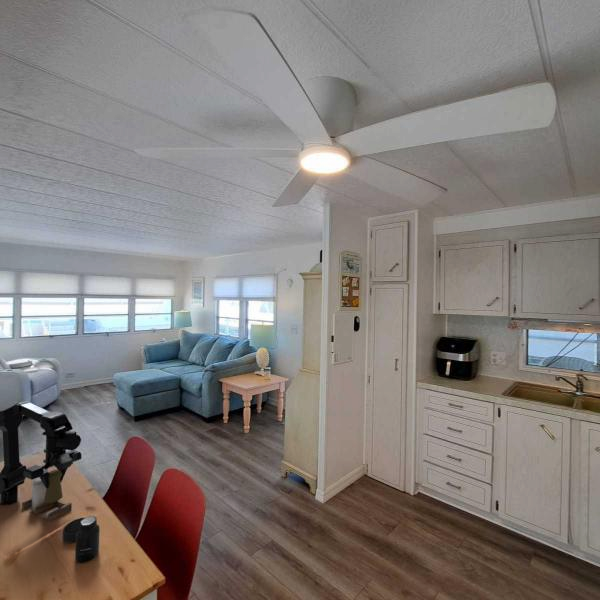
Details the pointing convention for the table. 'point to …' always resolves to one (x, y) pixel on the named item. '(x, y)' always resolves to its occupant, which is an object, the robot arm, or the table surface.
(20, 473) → the robot arm
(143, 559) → the table surface
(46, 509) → the walnut slot rack
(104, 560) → the table surface
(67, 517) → the table surface
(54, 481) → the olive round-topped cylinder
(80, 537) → the supplement bottle
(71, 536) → the black round bowl
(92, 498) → the table surface
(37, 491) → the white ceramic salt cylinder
